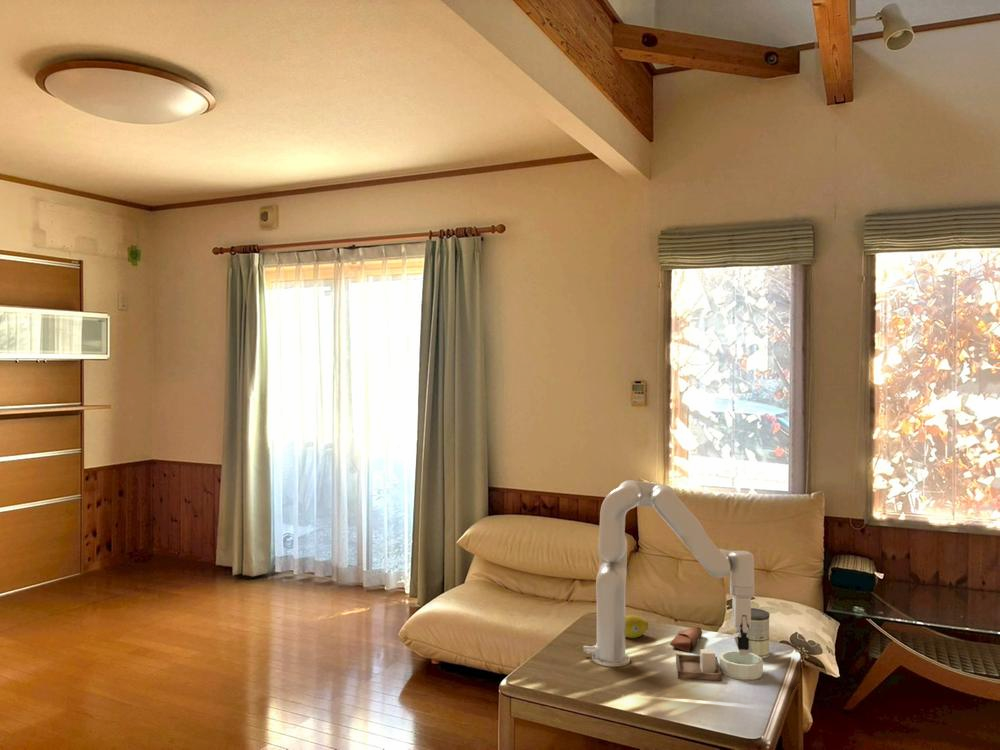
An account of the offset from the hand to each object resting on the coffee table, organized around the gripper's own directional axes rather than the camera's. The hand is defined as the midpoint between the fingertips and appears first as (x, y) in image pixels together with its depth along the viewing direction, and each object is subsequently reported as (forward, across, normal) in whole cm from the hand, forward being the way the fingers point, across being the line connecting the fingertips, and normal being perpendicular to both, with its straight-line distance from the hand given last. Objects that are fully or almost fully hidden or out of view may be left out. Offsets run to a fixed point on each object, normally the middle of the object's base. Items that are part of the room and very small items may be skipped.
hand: (742, 646), depth 244 cm
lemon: (+8, -25, -35) cm, 44 cm away
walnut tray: (+8, +3, -14) cm, 16 cm away
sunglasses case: (+8, -23, -18) cm, 31 cm away
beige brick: (+7, +3, -11) cm, 14 cm away
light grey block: (+2, 0, +1) cm, 2 cm away
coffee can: (+8, -17, +6) cm, 20 cm away
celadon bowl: (+8, +2, -1) cm, 8 cm away
